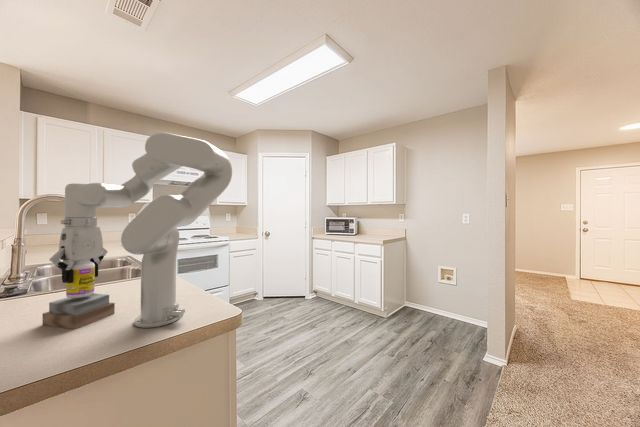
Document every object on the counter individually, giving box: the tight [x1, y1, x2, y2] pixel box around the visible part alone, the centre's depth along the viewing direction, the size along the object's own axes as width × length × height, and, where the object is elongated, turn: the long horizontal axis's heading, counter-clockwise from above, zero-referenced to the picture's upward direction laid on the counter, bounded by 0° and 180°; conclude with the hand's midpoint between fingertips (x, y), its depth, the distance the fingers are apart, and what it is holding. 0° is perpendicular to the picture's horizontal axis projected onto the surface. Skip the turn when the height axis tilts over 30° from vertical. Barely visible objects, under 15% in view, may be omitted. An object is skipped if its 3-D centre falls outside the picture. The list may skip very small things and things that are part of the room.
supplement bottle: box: [65, 258, 96, 298], centre depth 83 cm, size 7×7×13 cm
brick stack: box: [42, 292, 116, 330], centre depth 83 cm, size 12×12×6 cm
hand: (81, 279), depth 83 cm, fingers closed on supplement bottle, 6 cm apart
